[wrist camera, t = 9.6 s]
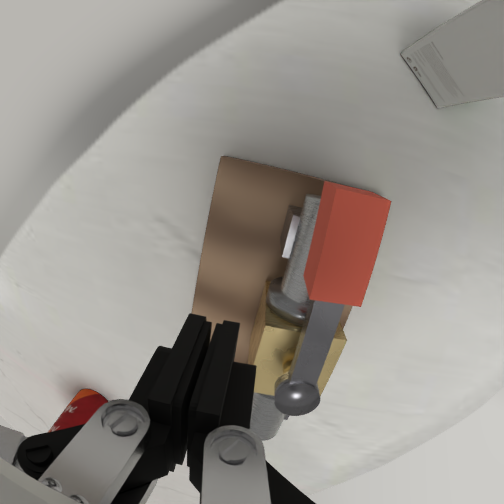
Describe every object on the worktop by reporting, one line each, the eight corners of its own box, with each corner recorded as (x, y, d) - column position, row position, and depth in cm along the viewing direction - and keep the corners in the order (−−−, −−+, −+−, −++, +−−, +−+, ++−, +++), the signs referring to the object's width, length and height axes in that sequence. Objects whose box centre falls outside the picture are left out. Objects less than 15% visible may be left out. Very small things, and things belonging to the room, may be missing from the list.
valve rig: (224, 155, 25) (195, 161, 15) (380, 196, 26) (443, 228, 15) (185, 375, 33) (160, 450, 23) (303, 398, 34) (311, 475, 23)
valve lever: (309, 395, 20) (313, 425, 17) (270, 391, 20) (270, 421, 17) (373, 192, 15) (393, 201, 13) (322, 180, 15) (334, 187, 13)
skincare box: (435, 109, 23) (560, 99, 8) (394, 50, 21) (498, -13, 6) (483, 75, 21) (594, 58, 6) (447, 21, 19) (545, -29, 5)
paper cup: (70, 375, 35) (21, 445, 22) (119, 396, 35) (78, 476, 22) (75, 408, 37) (36, 473, 24) (119, 427, 38) (87, 499, 25)
